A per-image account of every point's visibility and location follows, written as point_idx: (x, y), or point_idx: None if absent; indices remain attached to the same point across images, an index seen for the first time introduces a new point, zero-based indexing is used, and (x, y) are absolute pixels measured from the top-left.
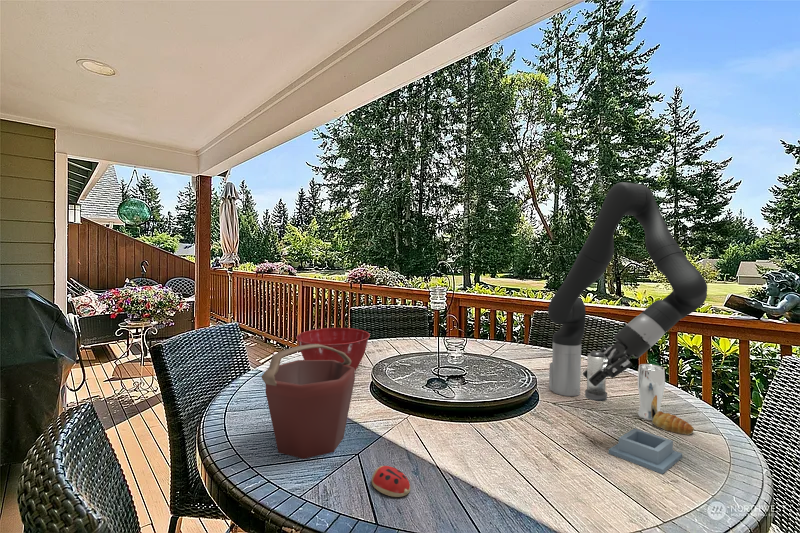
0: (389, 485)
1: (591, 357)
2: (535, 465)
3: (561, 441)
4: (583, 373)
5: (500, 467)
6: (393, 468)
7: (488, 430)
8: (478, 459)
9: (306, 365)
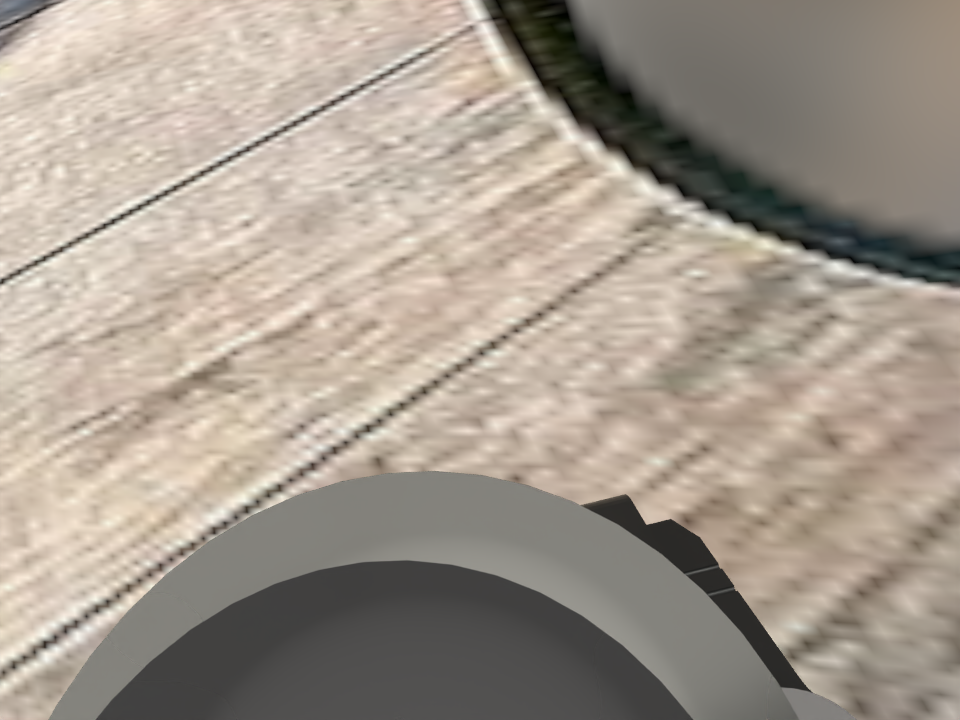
0: None
1: (149, 606)
2: (97, 329)
3: (411, 449)
4: (604, 501)
5: (60, 197)
6: None
7: (426, 103)
8: (118, 114)
9: None
